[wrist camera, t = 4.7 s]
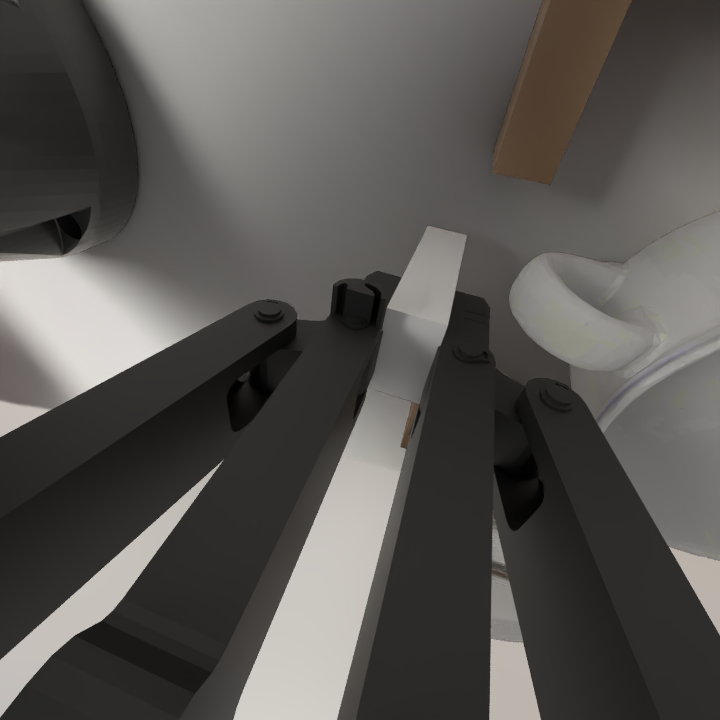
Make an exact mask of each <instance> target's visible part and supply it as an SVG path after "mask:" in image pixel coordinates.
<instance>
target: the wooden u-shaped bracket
mask: <svg viewBox="0 0 720 720" xmlns="http://www.w3.org/2000/svg"><path fill="white" fill-rule="evenodd" d="M631 1H632V0H542V4H541V7H540V10H539V13H538V16H537V19H536V22H535V25H534V28H533V31H532V34H531V37H530V40H529V43H528V46H527V50H526V53H525V56H524V59H523V62H522V65H521V68H520V71H519V74H518V77H517V80H516V83H515V86H514V89H513V93H512V96H511V99H510V102H509V105H508V108H507V111H506V114H505V117H504V120H503V123H502V126H501V129H500V132H499V135H498V139H497V142H496V145H495V148H494V151H493V173H495V174H500V175H505V176H510V177H515V178H520V179H525V180H529V181H534V182H539V183H544V184H549V185H551V182H552V180H553V178H554V175H555V173H556V171H557V169H558V166H559V164H560V162H561V160H562V157H563V155H564V153H565V151H566V148H567V146H568V144H569V142H570V139H571V137H572V135H573V132H574V130H575V128H576V126H577V123H578V121H579V119H580V117H581V114H582V112H583V110H584V108H585V105H586V103H587V101H588V99H589V96H590V94H591V92H592V89H593V87H594V85H595V83H596V80H597V78H598V76H599V74H600V71H601V69H602V67H603V65H604V62H605V60H606V58H607V56H608V53H609V51H610V49H611V46H612V44H613V42H614V40H615V37H616V35H617V33H618V31H619V28H620V26H621V24H622V22H623V19H624V17H625V15H626V12H627V10H628V8H629V6H630V3H631ZM418 407H419V404H417V403H414V402H412V404H411V408H410V412H409V416H408V420H407V423H406V427H405V431H404V435H403V439H402V443H401V447H402V448H405V449H407V446H408V442H409V438H410V435H409V432H410V429H411V426H412V424H413V421H414V418H415V415H416V413H417V410H418Z"/></svg>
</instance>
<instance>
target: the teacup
mask: <svg viewBox="0 0 720 720" xmlns="http://www.w3.org/2000/svg"><path fill="white" fill-rule="evenodd" d="M509 303H510V308H511V311H512V314H513V316H514V317H515V319H516V320H517V322H518V323H519V325H520V326H521V327H522V329H523V330H524V332H525V333H526V334H527V335H528V336H529V337H530V338H531V339H532V340H533V341H535V342H536V343H537V344H538V345H539V346H540V347H542V348H543V349H545V350H546V351H547V352H549V353H550V354H552V355H554V356H555V357H557V358H559V359H561V360H563V361H565V362H567V363H569V364H570V380H571V388H572V390H573V391H575V392H576V393H577V394H578V395H579V396H580V397H581V398H582V399H583V401H584V402H585V403H586V405H587V406H588V408H589V410H590V412H591V413H592V415H593V417H594V419H595V420H596V422H597V424H598V425H599V427H600V429H601V431H602V432H603V434H604V436H605V438H606V439H607V441H608V443H609V445H610V446H611V448H612V450H613V451H614V453H615V455H616V457H617V458H618V460H619V462H620V464H621V465H622V467H623V469H624V471H625V472H626V474H627V476H628V477H629V479H630V481H631V483H632V484H633V486H634V488H635V490H636V491H637V493H638V495H639V496H640V498H641V500H642V502H643V503H644V505H645V507H646V509H647V510H648V512H649V514H650V516H651V517H652V519H653V521H654V522H655V524H656V526H657V528H658V529H659V531H660V533H661V535H662V536H663V538H664V540H665V541H666V543H667V545H668V547H672V548H674V549H677V550H681V551H684V552H687V553H690V554H694V555H697V556H703V557H707V558H711V559H714V560H719V561H720V211H717V212H714V213H711V214H709V215H706V216H704V217H702V218H700V219H697V220H695V221H693V222H691V223H688V224H686V225H684V226H682V227H679V228H677V229H675V230H674V231H672V232H670V233H668V234H667V235H665V236H663V237H661V238H660V239H658V240H656V241H655V242H653V243H651V244H650V245H648V246H647V247H645V248H644V249H642V250H641V251H640V252H638V253H637V254H635V255H634V256H633V257H631V258H630V259H629V260H628V261H627V262H625V263H622V264H620V263H617V262H601V261H597V260H594V259H590V258H585V257H581V256H577V255H572V254H567V253H562V252H548V253H542V254H540V255H538V256H536V257H534V258H533V259H532V260H531V261H530V262H529V263H528V264H526V265H525V266H524V267H523V269H522V270H521V272H520V273H519V275H518V276H517V278H516V279H515V281H514V283H513V284H512V287H511V290H510V295H509Z"/></svg>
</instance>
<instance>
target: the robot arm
mask: <svg viewBox="0 0 720 720" xmlns="http://www.w3.org/2000/svg"><path fill="white" fill-rule="evenodd" d="M137 179H138V170H137V156H136V147H135V141H134V135H133V131H132V126H131V122H130V118H129V114H128V110H127V107H126V103H125V100H124V97H123V94H122V91H121V88H120V85H119V83H118V80H117V77H116V74H115V72H114V69H113V67H112V65H111V62H110V60H109V57H108V55H107V53H106V51H105V49H104V46H103V44H102V42H101V40H100V38H99V36H98V34H97V32H96V30H95V28H94V26H93V24H92V22H91V20H90V18H89V16H88V15H87V13H86V11H85V9H84V8H83V6H82V4H81V2H80V0H0V261H15V260H31V259H47V258H59V257H65V256H69V255H73V254H77V253H79V252H81V251H84V250H86V249H89V248H91V247H93V246H96V245H98V244H101V243H103V242H106V241H108V240H110V239H111V238H113V237H114V236H116V235H117V234H118V233H119V232H120V231H121V230H122V229H123V227H124V226H125V225H126V223H127V221H128V219H129V218H130V215H131V213H132V210H133V207H134V203H135V198H136V193H137ZM466 238H467V235H464V234H460V233H456V232H452V231H448V230H444V229H440V228H436V227H432V226H428V227H427V229H426V231H425V233H424V235H423V237H422V239H421V241H420V243H419V245H418V247H417V249H416V251H415V253H414V255H413V257H412V259H411V261H410V262H409V264H408V266H407V268H406V270H405V272H404V274H403V276H402V278H401V277H398V276H394V275H390V274H387V273H383V272H379V271H377V272H374V273H372V274H370V275H368V276H367V277H366V278H365V280H362V279H345V280H341V281H338V282H337V283H335V284H334V285H333V293H332V303H331V313H330V315H329V316H328V318H327V319H326V320H325V321H307V320H297V313H296V311H295V309H294V308H293V307H292V306H290V305H289V304H287V303H285V302H281V301H278V300H260V301H256V302H253V303H250V304H248V305H246V306H244V307H243V308H241V309H239V310H237V311H235V312H233V313H231V314H229V315H228V316H226V317H224V318H222V319H220V320H218V321H216V322H215V323H213V324H211V325H209V326H207V327H205V328H203V329H201V330H200V331H198V332H196V333H194V334H192V335H190V336H188V337H187V338H185V339H183V340H181V341H179V342H177V343H175V344H173V345H172V346H170V347H168V348H166V349H164V350H162V351H160V352H159V353H157V354H155V355H153V356H151V357H149V358H147V359H145V360H144V361H142V362H140V363H138V364H136V365H134V366H132V367H131V368H129V369H127V370H125V371H123V372H121V373H119V374H117V375H116V376H114V377H112V378H110V379H108V380H106V381H104V382H103V383H101V384H99V385H97V386H95V387H93V388H91V389H90V390H88V391H86V392H84V393H82V394H80V395H78V396H76V397H75V398H73V399H71V400H69V401H67V402H65V403H63V404H62V405H60V406H58V407H56V408H54V409H52V410H50V411H48V412H47V413H45V414H43V415H41V416H39V417H37V418H35V419H34V420H32V421H30V422H28V423H26V424H24V425H22V426H20V427H19V428H17V429H15V430H13V431H11V432H9V433H7V434H6V435H4V436H2V437H0V659H1V658H3V657H4V656H5V655H6V654H7V653H8V652H9V651H10V650H11V649H13V648H14V647H15V646H16V645H17V644H18V643H19V642H21V641H22V640H23V639H24V638H25V637H26V636H27V635H28V634H30V632H32V631H33V630H34V629H35V628H36V627H37V626H38V625H39V624H41V623H42V622H43V621H44V620H45V619H46V618H47V617H48V616H50V614H52V613H53V612H54V611H55V610H56V609H57V608H59V607H60V606H61V605H62V604H63V603H64V602H65V601H66V600H67V599H68V598H70V596H72V595H73V594H74V593H75V592H76V591H77V590H78V589H80V588H81V587H82V586H83V585H84V584H85V583H86V582H88V581H89V580H90V579H91V578H92V577H93V576H94V575H95V574H96V573H98V572H99V571H100V570H101V569H102V568H103V567H104V566H105V565H106V564H107V563H109V562H110V561H111V560H112V559H113V558H114V557H115V556H117V555H118V554H119V553H120V552H121V551H122V550H123V549H124V548H125V547H126V546H128V545H129V544H130V543H131V542H132V541H133V540H134V539H136V538H137V537H138V536H139V535H140V534H141V533H142V532H143V531H144V530H146V528H148V527H149V526H150V525H151V524H152V523H153V522H154V521H156V520H157V519H158V518H159V517H160V516H161V515H162V514H163V513H165V512H166V511H167V510H168V509H169V508H170V507H171V506H172V505H173V504H175V503H176V502H177V501H178V500H179V499H180V498H181V497H182V496H183V495H185V494H186V493H187V492H188V491H189V490H190V489H191V488H192V487H194V486H195V485H196V484H197V483H198V482H199V481H200V480H201V479H202V478H204V477H205V476H206V475H207V474H208V473H209V472H210V471H211V470H212V469H214V468H215V467H216V466H217V465H218V464H219V463H220V462H221V461H223V460H224V461H223V462H222V463H221V465H220V466H219V467H218V469H217V470H216V472H215V473H214V474H213V476H212V477H211V478H210V480H209V481H208V483H207V484H206V485H205V487H204V488H203V489H202V491H201V492H200V493H199V495H198V496H197V498H196V499H195V500H194V502H193V503H192V504H191V506H190V508H189V509H188V510H187V511H186V513H185V514H184V515H183V517H182V518H181V520H180V521H179V523H178V524H177V525H176V526H175V528H174V529H173V531H172V532H171V533H170V535H169V536H168V537H167V539H166V540H165V541H164V543H163V544H162V546H161V547H160V548H159V550H158V551H157V553H156V554H155V555H154V557H153V558H152V559H151V561H150V562H149V564H148V565H147V566H146V568H145V569H144V570H143V572H142V573H141V574H140V576H139V577H138V579H137V580H136V581H135V583H134V584H133V585H132V587H131V588H130V590H129V591H128V592H127V594H126V595H125V597H124V598H123V599H122V600H121V601H120V603H119V604H118V605H117V606H116V608H115V609H114V610H113V611H112V612H111V613H110V614H109V615H108V616H106V617H105V618H104V619H103V620H102V621H101V622H99V623H97V624H95V625H93V626H92V627H90V628H88V629H86V630H84V631H82V632H80V633H79V634H77V635H75V636H74V637H73V638H71V639H70V640H69V641H68V642H67V643H66V644H64V645H63V646H62V647H61V648H60V649H59V650H58V651H56V652H55V653H54V654H53V655H52V656H51V657H50V658H49V659H48V660H47V662H46V663H45V664H44V665H43V666H42V667H41V668H40V670H39V671H38V672H37V673H36V674H35V675H34V676H33V678H32V679H31V680H30V681H29V682H28V683H27V684H26V685H25V687H24V688H23V689H22V691H21V692H20V693H19V695H18V696H17V697H16V698H15V700H14V701H13V702H12V703H11V705H10V706H9V707H8V708H7V710H6V711H5V712H4V714H3V715H2V716H1V717H0V720H233V718H234V715H235V711H236V707H237V705H238V702H239V699H240V696H241V694H242V692H243V689H244V686H245V684H246V682H247V679H248V677H249V675H250V672H251V670H252V668H253V665H254V663H255V660H256V658H257V656H258V653H259V651H260V649H261V646H262V643H263V641H264V639H265V637H266V634H267V632H268V629H269V627H270V625H271V622H272V620H273V618H274V615H275V613H276V610H277V608H278V606H279V603H280V601H281V598H282V596H283V594H284V591H285V589H286V587H287V584H288V582H289V579H290V577H291V574H292V572H293V570H294V568H295V565H296V563H297V560H298V558H299V556H300V553H301V551H302V549H303V546H304V544H305V541H306V539H307V537H308V534H309V532H310V529H311V527H312V525H313V522H314V520H315V518H316V515H317V513H318V510H319V508H320V505H321V503H322V501H323V498H324V496H325V494H326V491H327V489H328V487H329V484H330V482H331V479H332V477H333V475H334V472H335V470H336V467H337V465H338V463H339V461H340V458H341V456H342V453H343V451H344V449H345V446H346V444H347V441H348V439H349V437H350V434H351V432H352V430H353V427H354V425H355V422H356V420H357V418H358V415H359V413H360V411H361V408H362V406H363V403H364V401H365V397H366V392H367V388H368V385H369V383H370V386H369V388H371V389H374V390H377V391H380V392H383V393H386V394H389V395H393V396H396V397H399V398H402V399H405V400H408V401H411V402H414V403H417V404H419V407H418V410H417V413H416V415H415V418H414V421H413V424H412V426H411V429H410V432H409V435H410V438H409V442H408V446H407V450H406V454H405V457H404V461H403V465H402V469H401V473H400V477H399V481H398V485H397V489H396V493H395V497H394V500H393V504H392V508H391V512H390V516H389V520H388V524H387V527H386V531H385V535H384V539H383V543H382V547H381V551H380V555H379V559H378V563H377V567H376V571H375V574H374V579H373V582H372V586H371V590H370V594H369V598H368V602H367V605H366V609H365V613H364V618H363V621H362V625H361V629H360V633H359V636H358V640H357V645H356V649H355V652H354V656H353V660H352V664H351V668H350V672H349V675H348V680H347V683H346V687H345V691H344V695H343V699H342V703H341V707H340V710H339V714H338V719H337V720H489V703H490V643H491V587H492V529H493V513H494V517H495V521H496V526H497V530H498V534H499V539H500V543H501V548H502V552H503V556H504V561H505V565H506V569H507V574H508V578H509V582H510V587H511V591H512V595H513V600H514V604H515V608H516V613H517V617H518V621H519V626H520V630H521V634H522V639H523V643H524V647H525V651H526V656H527V660H528V665H529V668H530V673H531V678H532V682H533V686H534V691H535V695H536V699H537V704H538V708H539V712H540V717H541V720H720V635H719V633H718V632H717V630H716V628H715V626H714V625H713V623H712V621H711V619H710V618H709V616H708V614H707V612H706V611H705V609H704V607H703V606H702V604H701V602H700V600H699V599H698V597H697V595H696V594H695V592H694V590H693V588H692V587H691V585H690V583H689V581H688V580H687V578H686V576H685V574H684V573H683V571H682V569H681V567H680V566H679V564H678V562H677V561H676V559H675V557H674V555H673V554H672V552H671V550H670V548H669V547H668V545H667V543H666V541H665V540H664V538H663V536H662V535H661V533H660V531H659V529H658V528H657V526H656V524H655V522H654V521H653V519H652V517H651V516H650V514H649V512H648V510H647V509H646V507H645V505H644V503H643V502H642V500H641V498H640V496H639V495H638V493H637V491H636V490H635V488H634V486H633V484H632V483H631V481H630V479H629V477H628V476H627V474H626V472H625V471H624V469H623V467H622V465H621V464H620V462H619V460H618V458H617V457H616V455H615V453H614V451H613V450H612V448H611V446H610V445H609V443H608V441H607V439H606V438H605V436H604V434H603V432H602V431H601V429H600V427H599V425H598V424H597V422H596V420H595V419H594V417H593V415H592V413H591V412H590V410H589V408H588V406H587V405H586V403H585V402H584V401H583V399H582V398H581V397H580V396H579V395H578V394H577V393H576V392H575V391H573V390H572V389H571V388H569V387H568V386H566V385H564V384H562V383H560V382H558V381H554V380H551V379H547V378H535V379H532V380H530V381H528V383H527V384H526V386H523V385H521V384H519V383H517V382H515V381H513V380H512V379H510V378H508V377H506V376H505V375H503V374H502V373H501V372H499V371H498V370H497V369H496V368H495V359H494V356H493V354H492V353H491V352H490V351H489V349H488V343H489V317H490V307H489V306H488V304H487V303H486V301H485V300H484V298H480V297H476V296H473V295H469V294H465V293H462V292H458V291H455V290H456V285H457V280H458V276H459V271H460V266H461V261H462V257H463V252H464V247H465V242H466ZM245 373H246V374H245ZM370 381H371V382H370Z"/></svg>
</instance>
